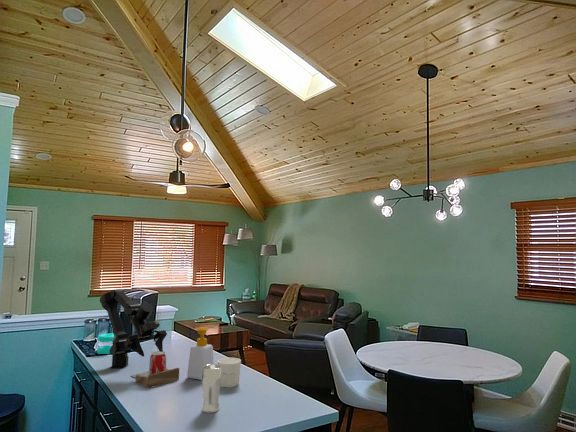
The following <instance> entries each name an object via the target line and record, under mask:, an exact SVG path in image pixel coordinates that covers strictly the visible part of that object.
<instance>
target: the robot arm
mask: <svg viewBox="0 0 576 432" xmlns="http://www.w3.org/2000/svg"><path fill="white" fill-rule="evenodd" d="M99 302H100V304H101V305H100V306H101V307H102V308H103V309H104V310H105V311H106V312H107V315H108V319H109V322H110V325H111V330H112V334H114V339H113V341H112V342H111V343H112V344H111V346H112V347H111V348H110V350H109V352H110V354H109V355H110V356H112V358H111V359H112V360H111V366H110V369H124V368H126V367H127V366H128V365H129V355H128V354H131V351H134V352H136V353H137V354H138V355H139V356H141V357H142V358H143V357H145V353H144V350H143V348H142V346H141V345H142V344H141V342H146V341H151V340H152V341H153V342H154V345H155V346H156V348H157V350H158V351H163V349H164V348H163V345H164V344H163V341H164V340H165V339H166V337H167V335H168V333H167V330H165V329H163V330H157V329H158V328H159V327H160V326H161V325H160V322H159V320H158V319H156V320H154V321H149V322H147V320H148V319H149V317H150V316H151V314H152V312H153V311H154V306H153V305H152V304H151V303H150V302H148V301H147V300H144V301H141V302H138V301H134V300H133V299H131V298H130V297H129V296H128V295H127V294H126V293H125V292H124V291H123V289H112V290H111V291H108V292H106V293H103V294H101V296H100V297H99ZM119 305H121V307H122V308H123V313H124V314H125V316H126V317H128V318H129V317H132V318H131V319H130V321H129V325H132V326H133V328H134V334H132V335H131V334H130V333H129V332H127V333H126V332H125V330H124V326H123V323H122V322H123V321H122V319H121V316H120V312H119V309H118V306H119ZM154 330H157V331H156V333H155V334H154V332H155V331H154ZM163 352H164V351H163Z"/></svg>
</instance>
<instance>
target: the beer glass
mask: <svg viewBox="0 0 576 432" xmlns="http://www.w3.org/2000/svg"><path fill="white" fill-rule="evenodd" d="M201 386H202V396H203V403H202V409H201V410H202V412H203V413H206V414H212V413H213V414H214V413H216V412H218V411H219V410H220V403H219V397H220V391H221V366H220V365H218V364H215V363H214V364H210V365H205V366H203V372H202V380H201Z"/></svg>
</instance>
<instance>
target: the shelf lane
mask: <svg viewBox="0 0 576 432" xmlns="http://www.w3.org/2000/svg"><path fill="white" fill-rule="evenodd" d="M179 379H180V368H179V367H175V368H171V369H169V368H166V371H162V372H158V373H154V374H150V375H148V378H146V377H144V376H141V375H136V378H135V383H137V384H140V386H141V385H142V386H144V387H146V388H150V389H151V388H154V387H157V386H161V385H165V384H168V383H169V384H170V383H172V382H176V381H179Z"/></svg>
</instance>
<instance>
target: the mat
mask: <svg viewBox="0 0 576 432" xmlns="http://www.w3.org/2000/svg"><path fill="white" fill-rule="evenodd" d="M136 375H141V376H144V377H146V378H148V375H149V371H143V372H140V373H135V374H131V375H130V377H131V378H134V379H136Z"/></svg>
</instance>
